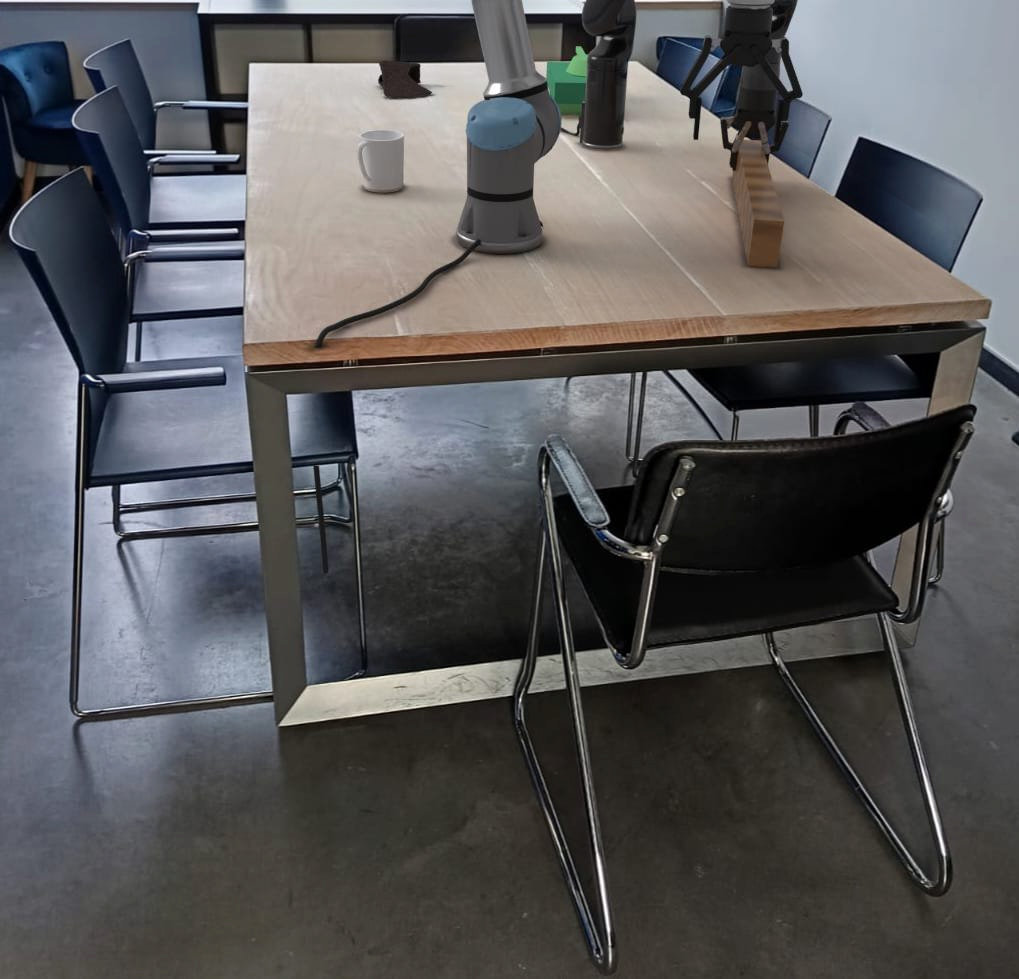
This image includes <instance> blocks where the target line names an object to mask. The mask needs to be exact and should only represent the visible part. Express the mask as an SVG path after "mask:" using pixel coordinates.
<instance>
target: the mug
mask: <svg viewBox="0 0 1019 979" xmlns="http://www.w3.org/2000/svg"><path fill="white" fill-rule="evenodd" d="M356 157H357V161H358V166H359V169H360V172H361V174H362V184H363V188H364V189H365V190H366V191H369V192H372V193H383V194H385V193H393V192H398V191H400V190H402V189H403V187H404V177H405V176H404V174H405V170H404V169H405V168H404V166H405V134H404V133H403V132H401V131H397V130H393V129H372V130H365V131H362V132H360V133H359V134H358V145H357V150H356Z"/></svg>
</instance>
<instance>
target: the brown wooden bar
mask: <svg viewBox="0 0 1019 979" xmlns="http://www.w3.org/2000/svg"><path fill="white" fill-rule="evenodd" d="M731 180H732V186H733V191H734V196H735V202H736V209H737V214H738V219H739V224H740V230H741V236H742V242H743V248H744V253H745V259H746V265H747V267H757V268H758V267H759V268H773V269H774V268H776V269H777V268H778V265H779V260H780V253H781V252H780V251H781V247H782V240H783V233H784V227H785V226H784V225H785V219H784V216H783V212H782V209H781V205H780V202H779V198H778V194H777V192H776V188H775V184H774V181H773V177H772V174H771V171H770V168H769V162H768V163H767V160H766V156H765V153H764V149H763V145H762V141H761V139H759V140H758V139H757V140H756V139H744V140H743V141H742V143H741V144H740V146H739V148H738V159H737V166H736V171H732V175H731Z"/></svg>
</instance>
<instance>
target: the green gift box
mask: <svg viewBox="0 0 1019 979" xmlns="http://www.w3.org/2000/svg"><path fill="white" fill-rule="evenodd" d="M575 53H576V55H574V56H573V57H572V59H571V60H570V61H546V75H545V76H546V77H545V78H546V80H547V85H548V90H549V95H550V97H552V98H553V99H554V101H555V102H556V104H557V105H558V108H559V110H560V114H561V116H580V115H581V107H582V101H583V100H585V92H586V73H587V57H588V54H586V53H585V51H584V48H582V46H581V45H580V46H575Z"/></svg>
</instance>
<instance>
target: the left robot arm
mask: <svg viewBox="0 0 1019 979" xmlns="http://www.w3.org/2000/svg"><path fill="white" fill-rule="evenodd" d="M470 2H471V6H472V10H473V15H474V19H475V20H474V21H475V24H476V28H477V35H478V37H479V42H480V47H481V51H482V55H483V60H484V66H485V70H486V75H487V78H488V83H487V85H486V88H485V89H484V91H483V93H482V95H483V100H481V101H479V102H477V103H475V104H473V105H472V106H471V107H470V109H469V110H468V113H467V120H466V121H467V122H466V126H465V133H466V134H465V135H466V192H467V193H466V198H465V202H464V205H463V209H462V211H461V214H460V218H459V220H458V224H457V227H456V241H457V243H458V244H459V245H461V246H462V247H464V248H466V250H465V251H464V252H463V253H462V254H461V255H460V256H459V257H457V258H456V259H455V260H453V261H452V262H449V263H447V264H444V265H442V266H440V267H438V268H437V269H434V270H433V271H432V272H431V273H429V275H427V277H425V278H424V280H423V281H422V282H421V284H420V285H419V286H418V287H417V288H415V289H414V290H413V291H411V292H409V293H408V294H406V295H404V296H403V297H401V298H399V299H397V300H395V301H392V302H390V303H388V304H386V305H383V306H381V307H378V308H376V309H373V310H369V311H365V312H362V313H359V314H355V315H352V316H350V317H346V318H344V319H342V320H339V321H338V322H334V323H333V324H330V325H328V326H325V328H323V329H322V330H321V331H320V332H319V334H318V337H317V338H316V341H315V344H314V349H320V348H321V347H322V345H323V342H324V340H325V339H326V337H327V335H328V334H329V333H332V332H334V331H336V330H339V329H341V328H343V327H346V326H348V325H350V324H353V323H356V322H359V321H362V320H365V319H369V318H373V317H375V316H378V315H381V314H383V313H386V312H388V311H390V310H393V309H395V308H397V307H399V306H402V305H404V304H405V303H407V302H409V301H410V300H412V299H414V298H415V297H417V296H418V295H419V294H421V293H422V292H423V291H424V290H425V289H426V288H427V287H428V285H429V284H430V283H431V281H432V280H433V279H435V277H437V276H439V275H440V274H442V273H444V272H446V271H449V270H450V269H452V268H455V267H457V266H458V265H460V264H461V263H462V262H463V261H464V260H466V259H467V258H468V257H469V256H470V254H472V252H473V251H475V252H479V253H486V254H497V255H499V254H500V255H506V254H507V255H508V254H517V253H524V252H527V251H530V250H533V249H536V248H538V247H539V246H540V245H541V244H542V243H543V229H545V228H544V227H545V226H544V223H543V222H542V220H541V219H540V218H539V214H538V213H539V212H538V210H537V206H536V204H535V199H534V184H535V181H534V180H535V164H536V163H537V162H538V161H539V160H540V159H542V158H543V157H545V156H546V155H548V153H550V152H551V150H552V149H553V148H554V146H555V145H556V143H557V141H558V139H559V136H560V134H561V132H562V131H561V127H562V115H561V114H560V110H559V108H558V105H557V104H556V102H555V101H554V99H553V98H552V97H550V93H549V88H548V85H547V80H546V77H545V76H544V75H542V74H541V73H540V72H538V71H537V68H536V64H535V59H534V54H533V49H532V45H531V44H532V43H531V39H530V34H529V29H528V23H527V19H526V14H525V10H524V4H523V0H470ZM726 2H727V3H728V4H729V5H728V6H727V7H726V9H725V17H724V28H723V33H722V37H721V38H718V37H712V36H711V35H709V34H707V35H705V36H704V38H703V42H702V47H701V50H700V52H699V53H698V56H697V58H695V61H694V62H693V64H692V65H691V67H690V70H689V72H688V73H687V75H686V77H685V78H684V80H683V82H682V84H681V85H680V87H679V92H680V95H681V96H685V97H686V98H688V99H689V103H688V104H689V105H688V117H689V120H690V119H691V120H692V119H693V121H694V123H693V134H692V137H693V138H692V139H693V141H699V136H700V135H699V134H700V126H701V116H702V115H701V113H702V112H701V111H702V103H703V100H702V96H701V95H703V92H704V91H705V90H707V88H709V87H710V85H711V84H712V83H713V82H714V81H715V80H716V79H717V78H718V77H719V76H720V74H721V73H722V72H723V71H724V70H726V69H727V68H728V67H729V66H730V65H731V66H733V67H734V68H740V67H743V66H747V67H753V66H756V65H758V64H760V66H761V67H762V69H763V70H764V72H765V73H766V74H767V76H768V77H769V79H770V80H771V82H772V83H773V85H774V86H775V88H776V89H777V91H778V92H777V93H779V95H780V96H781V99H780V98H777V99H776V107H775V124H774V125H773V133H772V140H773V143H774V142H779V136H780V129H781V121H787V122H788V120H789V116H790V108H791V103H792V101H794V100H796V99H801V98H802V97H803V95H804V94H803V90H802V87H801V84H800V82H799V78H798V75H797V73H796V70H795V67H794V63H793V60H792V58H791V55H790V41H789V39H788V38H787V37H786V36H785V37H782V38H781V39H774V40H771V37H770V33H771V24H772V16H773V9H772V8H771V7H770V5H771V4H773V3H774V0H726ZM717 47H720V49H721V51H722V52H723V54H722V56H721V57H720V58H719V59H718V60H717V62H716V63H715V64H714V65H713V66H712V68H711V69H709V71H708V72H707V73H706V74H705V75H704V76H703V77H702V78H701V79H700V80H699V82H698V83H697V84H696V85H695V86H694V87H693V88H692V85H694V82H695V80H696V79H697V77H698V76H699V74H700V72H701V70H702V68H703V67H704V65H705V63H706V61H707V60H708V58H709V55H710V53H711V52H714V51H715V50H716V48H717ZM772 47H774V48H775V49H776V52H777V53H780V54H781V62H782V63H783V66H784V69H785V72H786V75H787V78H788V81H789V84H790V86H791V89H792V90H788V89H787V88H786V86H785V85H784V84H783V82H782V80H781V79H780V78H778V76H777V75H776V73H775V72H774V70H773V69H772V67H771V66H770V64H769V63H768V61H767V60H766V58H765V57H764V56H765V55H766V54H767V53H768V52H769V50H770V49H771V48H772ZM312 467H313V468H312V470H313V478H314V489H315V490H314V491H315V500H316V508H317V518H318V528H319V537H320V538H319V539H320V549H321V561H322V562H321V563H322V573H323V574H328V573H329V559H328V557H329V556H328V546H327V533H326V532H327V531H326V523H325V522H326V521H325V512H324V503H323V493H322V482H321V470H320V465H315V464H313V466H312Z"/></svg>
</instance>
